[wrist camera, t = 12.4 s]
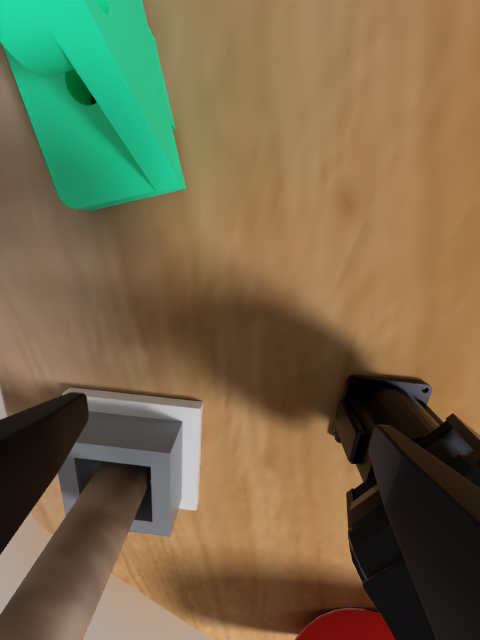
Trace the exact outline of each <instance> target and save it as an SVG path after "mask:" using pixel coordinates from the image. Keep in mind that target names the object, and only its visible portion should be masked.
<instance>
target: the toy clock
mask: <svg viewBox="0 0 480 640" xmlns="http://www.w3.org/2000/svg"><path fill="white" fill-rule="evenodd" d="M295 640H395V638H394V636H393V635H392V633H391V631H390V629H389V627H388V626H387V624H386V622H385V620H384V619H383V617H382V615H381V614H380V613H377V612H373V611H370V610H366V609H358V608H344V609H337V610H333V611H330V612H328V613H325V614H323V615H320V616H319V617H318V618H316V619H315V620H313V621H312V622H311V623H309V624H308V625H307V626H306V627H305V628H304V629H303V630H302V632H301V633H300V634H299V635H298V636H297V637H296V639H295Z"/></svg>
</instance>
